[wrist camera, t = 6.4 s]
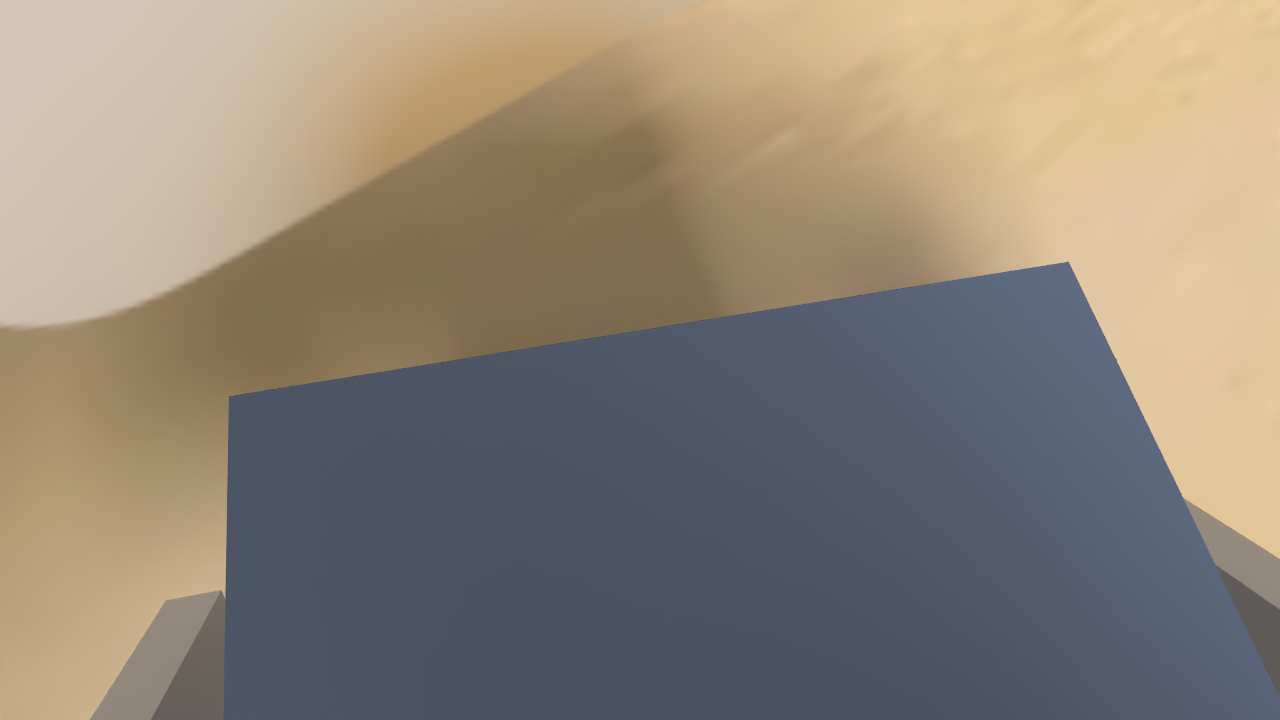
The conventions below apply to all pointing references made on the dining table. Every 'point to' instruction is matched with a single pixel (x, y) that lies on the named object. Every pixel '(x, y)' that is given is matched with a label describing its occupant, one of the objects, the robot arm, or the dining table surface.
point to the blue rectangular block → (734, 528)
